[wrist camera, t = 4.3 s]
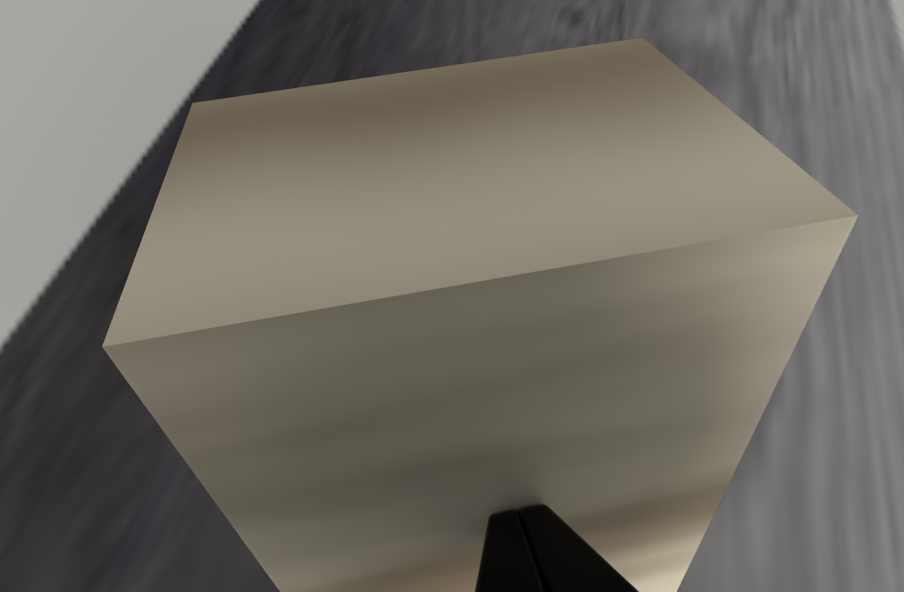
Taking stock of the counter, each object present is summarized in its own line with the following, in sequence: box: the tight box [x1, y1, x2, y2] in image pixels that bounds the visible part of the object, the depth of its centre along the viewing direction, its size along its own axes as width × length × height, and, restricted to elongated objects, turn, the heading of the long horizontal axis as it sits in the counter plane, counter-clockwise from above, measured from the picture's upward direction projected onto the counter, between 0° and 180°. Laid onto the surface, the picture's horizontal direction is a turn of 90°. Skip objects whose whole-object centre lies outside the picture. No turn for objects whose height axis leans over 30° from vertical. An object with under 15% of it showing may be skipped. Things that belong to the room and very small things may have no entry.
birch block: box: [102, 38, 858, 592], centre depth 10 cm, size 5×7×10 cm
